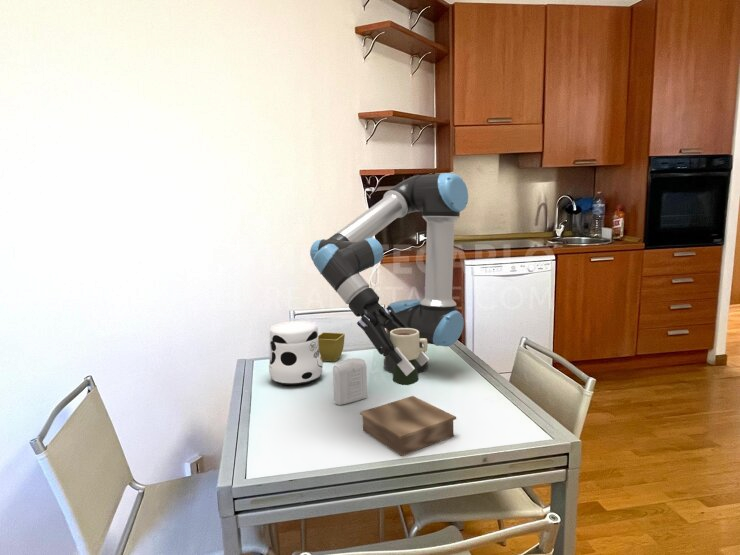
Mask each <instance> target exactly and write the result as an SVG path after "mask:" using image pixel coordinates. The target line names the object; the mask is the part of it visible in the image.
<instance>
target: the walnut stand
mask: <svg viewBox="0 0 740 555" xmlns="http://www.w3.org/2000/svg"><path fill="white" fill-rule="evenodd" d="M359 415H361V416H362V428H363V431H362V432H365V433H366V434H367V435H369V436H370V437H372V438H374V439H375V440H377V441H378V442H379V443H381V444H382V445H384V446H386V447H387V448H389V449H390V450H392V451H393V452H395V453H396V454H398V455H399V456H404V454H405V455H407V454H410V453H412V452H415V451H417V449H418V450H420V449H422V448H427V447H428V446H431V445H433V444H436V443H439V442H442V441H444V440H447V439H448V438H451V437H454V421H455V420H457V416H455V415H454V414H451V413H449V412H447V411H445V410H443V409H441V408H439V407H436V406H435V405H432V404H430V403H428V402H427V401H424V400H422V399H420V398H418V397H417V396H414V395H411V396H409V397H403V398H402V399H399V400H398V399H397V400H395V401H392V402H388V403H385V404H381V405H378V406H376V407H371V408H368V409H365V410H362V411H359ZM409 452H410V453H409Z"/></svg>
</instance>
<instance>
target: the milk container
mask: <svg viewBox="0 0 740 555" xmlns="http://www.w3.org/2000/svg"><path fill="white" fill-rule="evenodd" d="M318 336H319V328H318V325H317V323H315V322H313V321H308V320H290V321H283V322H278V323H276V324H272V326H270V327H269V338H270V339H269V344H270V345H269V347H270V358H269V365H268V370H269V375H270V378H271V379H272V381H274V382H276V383H277V384H281V385H286V386H299V385H303V384H309V383H311V382H315V380H317V379H319V377H321V375H322V373H323V361H322V358H321V355H320V352H319V339H318Z"/></svg>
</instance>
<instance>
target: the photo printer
mask: <svg viewBox="0 0 740 555" xmlns="http://www.w3.org/2000/svg"><path fill="white" fill-rule="evenodd" d="M332 376H333V377H332V378H333V400H334V403H335V405H338V406H342V405H347V404H349V403H353V402H357V401H361V400H364V399H366V398H368V380H367V379H368V376H367V364H366V360H365V359H363V358H358V357H357V358H355V357H354V358H353V357H352V358H347V359H344V360H341V361H339V362H338V363H336V364H334V365H333V368H332Z"/></svg>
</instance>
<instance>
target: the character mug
mask: <svg viewBox="0 0 740 555" xmlns="http://www.w3.org/2000/svg"><path fill="white" fill-rule="evenodd" d="M390 340H391V342H392V344H393V346H394V349H395V348H396V347H398V349H399V350H400V351H401V352H402V353H403V355H404V356H405V357H406V358H407V359H408V361H409V362H410V363H411V364H412V365H413V367H414V368H415V369H414V370H413V371H412V372H411V373H410V374H409V375H407V376H406V375H405V374H404V372H403V371H402V370H401V369H400V368H399V366H398V365H397V364H396V363H394V371H393V373H392V381H393V382H394V383H395V384H397V385H400V386H411V385H414V384H415V383H417V382H419V373H418V371H417V365H416V362H415V360H414V359H416V358H418V356H419V353H420V352H425V353H426V352H427V351H428V343H427V339H425V338H419V331H418V330H416V329H412V328H398V329H394V330H391V331H390ZM419 342H422V346H423V348H420V346H419Z"/></svg>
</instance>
